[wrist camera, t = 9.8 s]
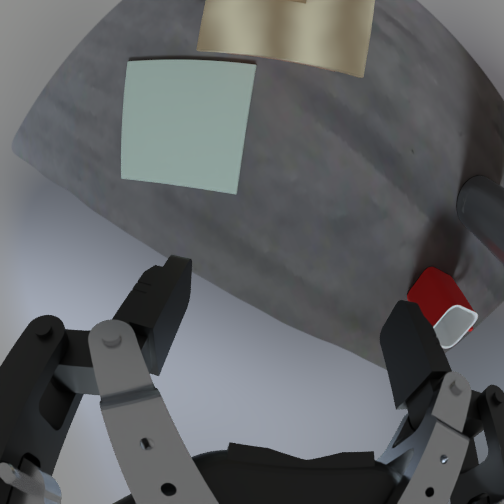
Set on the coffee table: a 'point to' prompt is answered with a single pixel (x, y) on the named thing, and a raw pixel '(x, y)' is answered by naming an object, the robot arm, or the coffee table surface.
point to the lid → (291, 31)
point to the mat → (186, 122)
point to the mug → (443, 306)
